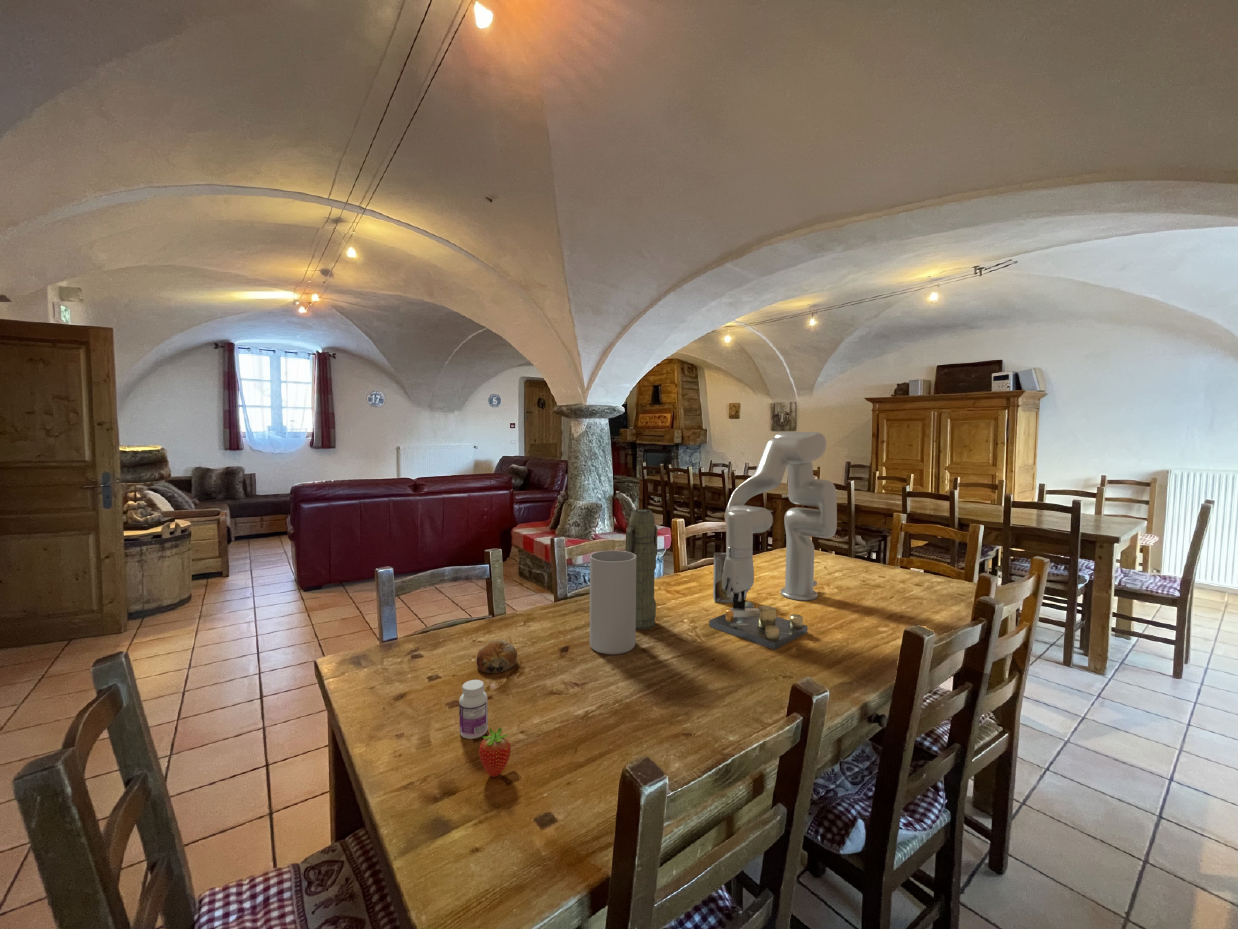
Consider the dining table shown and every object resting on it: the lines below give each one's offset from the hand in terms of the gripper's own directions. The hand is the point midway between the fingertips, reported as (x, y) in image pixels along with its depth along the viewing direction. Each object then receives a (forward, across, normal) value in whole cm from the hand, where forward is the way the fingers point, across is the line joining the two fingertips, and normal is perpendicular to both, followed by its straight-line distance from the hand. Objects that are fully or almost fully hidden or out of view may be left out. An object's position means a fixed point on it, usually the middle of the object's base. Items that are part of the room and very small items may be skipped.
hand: (738, 612), depth 154 cm
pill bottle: (+3, +83, -4) cm, 83 cm away
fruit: (+3, +86, +10) cm, 87 cm away
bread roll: (+4, +66, -27) cm, 71 cm away
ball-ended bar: (+3, 0, +4) cm, 5 cm away
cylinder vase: (+4, +36, -16) cm, 40 cm away
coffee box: (+6, -19, -18) cm, 27 cm away
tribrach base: (+5, -4, +4) cm, 8 cm away
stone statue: (+5, +19, -22) cm, 30 cm away
